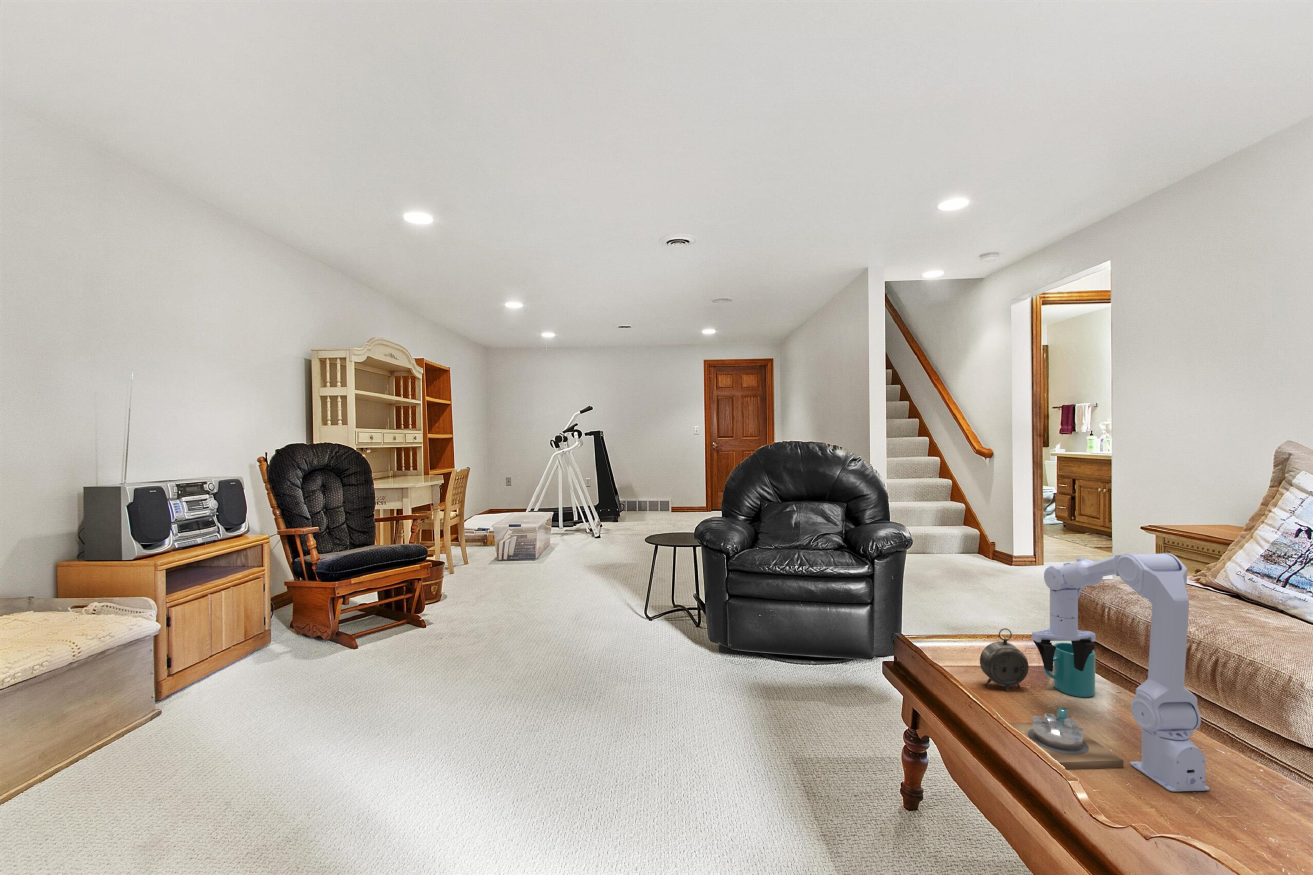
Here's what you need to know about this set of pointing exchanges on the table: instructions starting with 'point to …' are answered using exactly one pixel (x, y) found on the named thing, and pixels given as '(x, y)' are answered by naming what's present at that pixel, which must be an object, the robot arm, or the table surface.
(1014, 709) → the table surface
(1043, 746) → the dial board
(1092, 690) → the cup
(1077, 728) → the rotary knob
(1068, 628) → the robot arm
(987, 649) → the alarm clock
